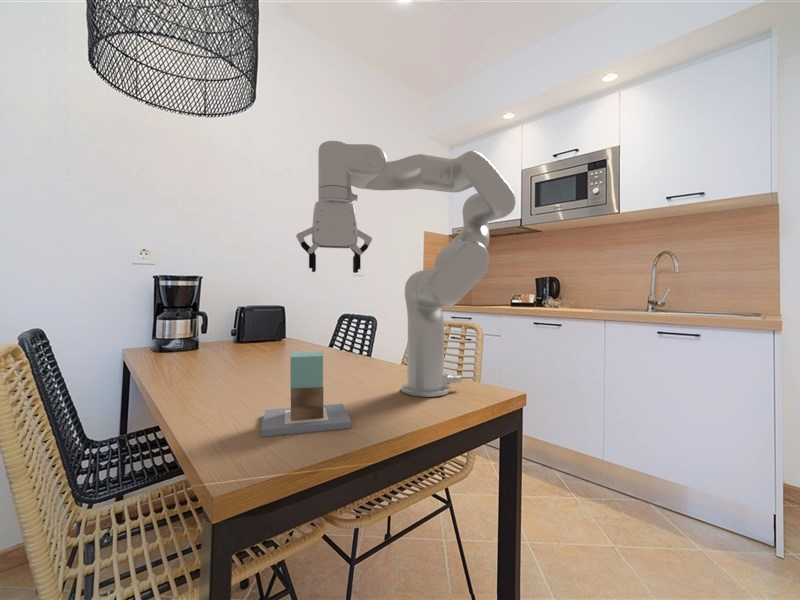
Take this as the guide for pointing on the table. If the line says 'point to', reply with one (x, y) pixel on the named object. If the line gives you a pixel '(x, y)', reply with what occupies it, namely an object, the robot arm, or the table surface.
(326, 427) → the board
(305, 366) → the teal block
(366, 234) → the robot arm
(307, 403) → the walnut block
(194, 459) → the table surface
